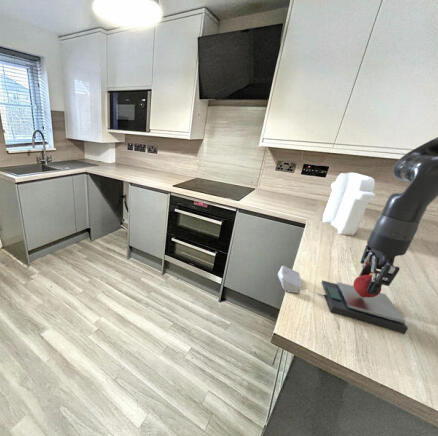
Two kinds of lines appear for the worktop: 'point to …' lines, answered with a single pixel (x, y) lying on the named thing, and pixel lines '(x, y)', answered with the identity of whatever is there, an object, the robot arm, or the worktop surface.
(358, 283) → the onion
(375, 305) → the scale plate
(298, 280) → the light grey faceted block
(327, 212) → the white stepped block
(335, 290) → the scale
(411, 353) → the worktop surface
